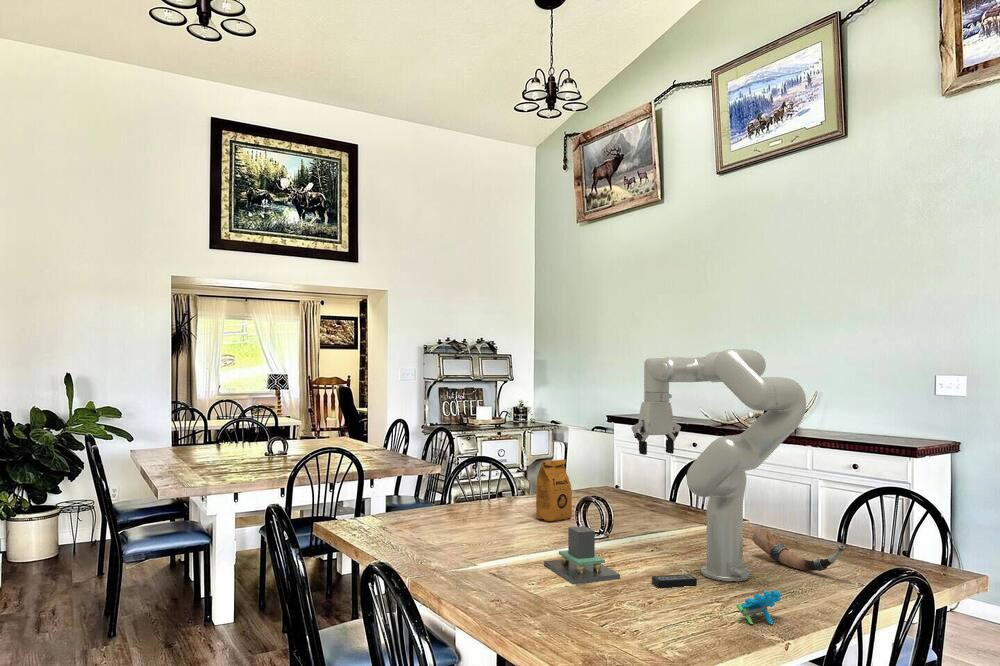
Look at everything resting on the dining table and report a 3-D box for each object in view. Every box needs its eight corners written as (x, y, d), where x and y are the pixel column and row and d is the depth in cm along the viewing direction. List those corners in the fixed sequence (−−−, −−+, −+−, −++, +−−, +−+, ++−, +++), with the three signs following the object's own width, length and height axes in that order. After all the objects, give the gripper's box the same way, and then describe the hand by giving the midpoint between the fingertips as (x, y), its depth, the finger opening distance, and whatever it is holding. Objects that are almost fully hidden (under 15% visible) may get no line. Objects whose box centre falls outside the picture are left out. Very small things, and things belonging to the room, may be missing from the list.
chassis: (620, 578, 185) (620, 564, 185) (573, 584, 180) (573, 569, 180) (587, 560, 202) (587, 548, 202) (544, 565, 197) (544, 552, 197)
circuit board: (604, 562, 187) (605, 533, 187) (578, 565, 184) (578, 535, 184) (583, 551, 198) (583, 523, 199) (558, 554, 195) (558, 525, 196)
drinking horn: (761, 554, 211) (761, 521, 212) (851, 582, 185) (851, 544, 185) (748, 556, 208) (748, 523, 209) (838, 585, 182) (837, 546, 183)
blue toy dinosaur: (769, 604, 162) (784, 583, 155) (783, 628, 158) (799, 608, 151) (727, 613, 159) (741, 593, 153) (740, 639, 155) (754, 619, 149)
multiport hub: (651, 584, 182) (651, 575, 182) (689, 582, 184) (689, 573, 184) (658, 590, 177) (658, 580, 178) (697, 587, 180) (697, 578, 180)
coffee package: (575, 520, 255) (576, 460, 256) (548, 524, 248) (548, 462, 249) (559, 515, 263) (560, 457, 264) (532, 518, 257) (533, 459, 258)
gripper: (672, 397, 220) (672, 451, 219) (625, 397, 213) (625, 453, 212) (687, 398, 213) (687, 454, 212) (639, 398, 206) (639, 456, 206)
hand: (656, 453), depth 212 cm, fingers open, 9 cm apart
